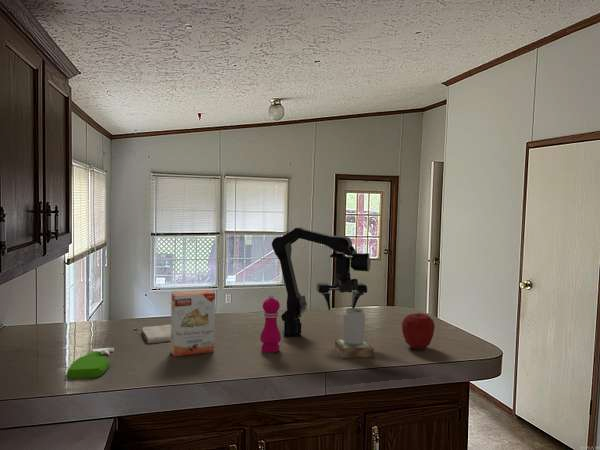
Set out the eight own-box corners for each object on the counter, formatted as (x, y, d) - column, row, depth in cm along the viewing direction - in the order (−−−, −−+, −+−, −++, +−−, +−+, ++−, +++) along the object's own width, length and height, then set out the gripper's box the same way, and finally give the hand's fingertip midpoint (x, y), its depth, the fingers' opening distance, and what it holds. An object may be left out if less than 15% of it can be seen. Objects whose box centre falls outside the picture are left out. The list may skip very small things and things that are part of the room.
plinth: (342, 357, 159) (342, 348, 159) (334, 347, 170) (335, 338, 170) (373, 357, 161) (373, 347, 160) (364, 347, 171) (364, 338, 171)
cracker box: (174, 357, 156) (174, 295, 155) (170, 352, 161) (170, 292, 160) (214, 352, 162) (215, 292, 162) (209, 347, 168) (210, 289, 167)
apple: (412, 341, 180) (413, 306, 180) (440, 348, 172) (441, 312, 171) (394, 347, 172) (395, 311, 171) (423, 355, 164) (424, 317, 163)
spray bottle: (63, 380, 135) (84, 354, 159) (103, 378, 138) (118, 353, 162) (63, 370, 135) (84, 346, 159) (103, 368, 138) (118, 344, 162)
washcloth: (170, 329, 191) (170, 322, 191) (180, 341, 176) (180, 333, 175) (140, 333, 186) (140, 325, 186) (148, 345, 170) (148, 337, 170)
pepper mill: (283, 348, 168) (284, 293, 167) (276, 354, 161) (277, 296, 160) (265, 346, 170) (266, 291, 170) (256, 351, 164) (257, 295, 163)
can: (363, 347, 161) (364, 312, 160) (341, 345, 162) (342, 311, 162) (365, 340, 168) (365, 307, 168) (344, 339, 170) (345, 306, 169)
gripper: (322, 272, 169) (320, 315, 170) (372, 273, 171) (370, 315, 172) (316, 268, 180) (315, 308, 181) (363, 268, 182) (362, 308, 183)
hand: (341, 310), depth 179 cm, fingers open, 9 cm apart
